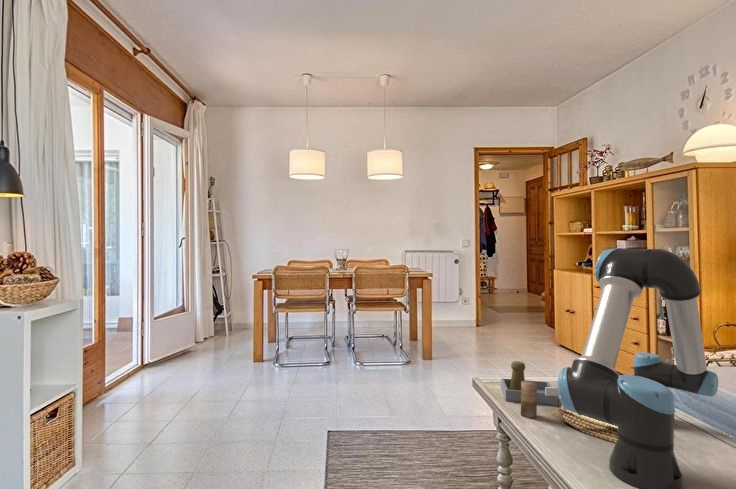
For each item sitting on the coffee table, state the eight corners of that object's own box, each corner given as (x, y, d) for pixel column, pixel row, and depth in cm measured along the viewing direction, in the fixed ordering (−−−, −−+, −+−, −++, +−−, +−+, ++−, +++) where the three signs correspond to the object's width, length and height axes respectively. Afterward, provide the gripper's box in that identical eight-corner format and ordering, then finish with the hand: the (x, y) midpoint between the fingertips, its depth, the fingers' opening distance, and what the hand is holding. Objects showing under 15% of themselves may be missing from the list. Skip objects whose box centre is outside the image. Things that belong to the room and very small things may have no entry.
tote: (557, 405, 152) (557, 394, 152) (505, 400, 155) (505, 390, 155) (548, 391, 166) (548, 381, 166) (501, 388, 170) (501, 378, 170)
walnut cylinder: (538, 419, 139) (538, 385, 139) (522, 417, 140) (522, 384, 140) (534, 413, 144) (535, 381, 144) (519, 412, 145) (519, 380, 145)
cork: (507, 390, 164) (508, 362, 164) (512, 386, 169) (512, 359, 169) (523, 393, 161) (523, 364, 161) (527, 389, 166) (528, 361, 166)
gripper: (640, 426, 129) (570, 424, 130) (598, 398, 154) (539, 396, 155) (640, 402, 129) (570, 400, 130) (598, 377, 154) (539, 375, 155)
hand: (553, 398), depth 142 cm, fingers open, 13 cm apart
